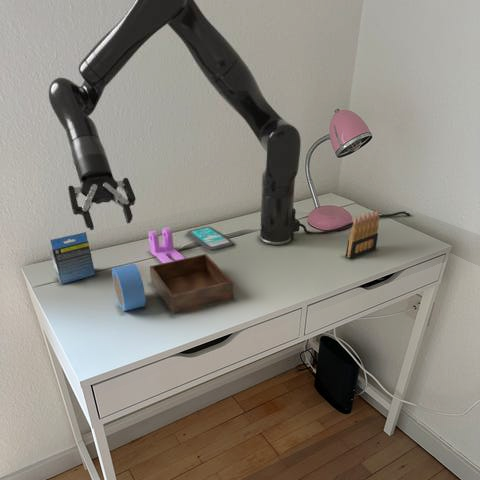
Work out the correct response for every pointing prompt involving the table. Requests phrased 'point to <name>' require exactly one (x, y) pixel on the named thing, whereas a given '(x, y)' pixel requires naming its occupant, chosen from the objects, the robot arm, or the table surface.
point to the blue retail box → (72, 258)
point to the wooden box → (191, 283)
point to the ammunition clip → (363, 235)
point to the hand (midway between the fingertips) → (111, 225)
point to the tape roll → (128, 287)
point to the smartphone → (209, 238)
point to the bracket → (163, 246)
